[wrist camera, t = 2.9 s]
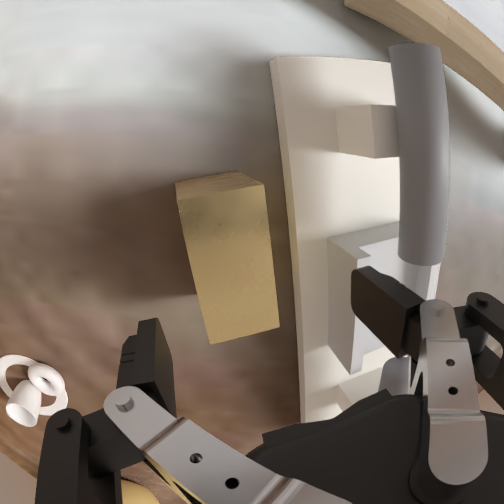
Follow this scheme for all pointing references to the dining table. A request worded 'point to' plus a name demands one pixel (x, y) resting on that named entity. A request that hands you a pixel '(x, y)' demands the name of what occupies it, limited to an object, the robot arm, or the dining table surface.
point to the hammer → (443, 38)
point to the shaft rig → (359, 206)
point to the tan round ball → (136, 494)
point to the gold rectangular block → (229, 253)
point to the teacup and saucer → (32, 390)
